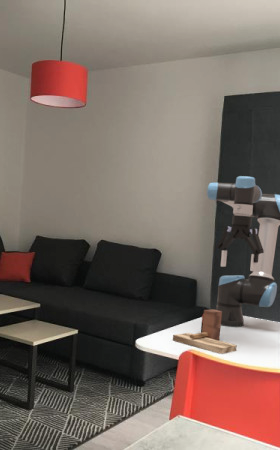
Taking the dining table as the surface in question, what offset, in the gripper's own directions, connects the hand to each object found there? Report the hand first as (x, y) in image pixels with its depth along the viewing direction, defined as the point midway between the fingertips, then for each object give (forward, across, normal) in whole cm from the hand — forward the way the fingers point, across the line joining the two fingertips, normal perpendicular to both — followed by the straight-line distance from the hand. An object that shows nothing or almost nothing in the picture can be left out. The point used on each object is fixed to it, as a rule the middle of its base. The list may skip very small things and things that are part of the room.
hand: (237, 268), depth 203 cm
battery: (+29, -10, -1) cm, 31 cm away
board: (+29, -2, -16) cm, 33 cm away
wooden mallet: (+29, -5, -13) cm, 32 cm away
